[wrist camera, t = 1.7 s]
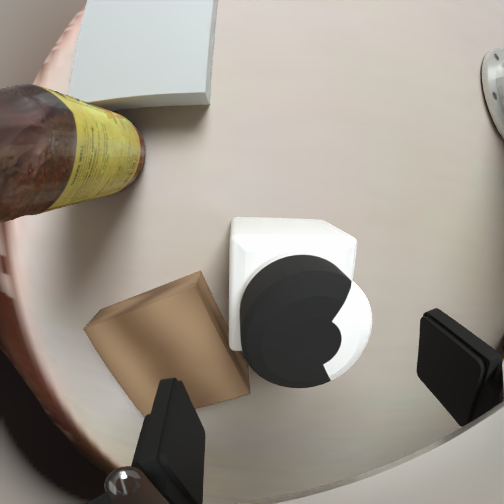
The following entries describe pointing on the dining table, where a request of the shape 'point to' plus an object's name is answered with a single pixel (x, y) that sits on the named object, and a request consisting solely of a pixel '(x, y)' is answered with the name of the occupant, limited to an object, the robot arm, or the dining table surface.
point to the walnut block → (170, 344)
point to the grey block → (144, 53)
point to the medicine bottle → (295, 300)
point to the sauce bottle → (61, 151)
